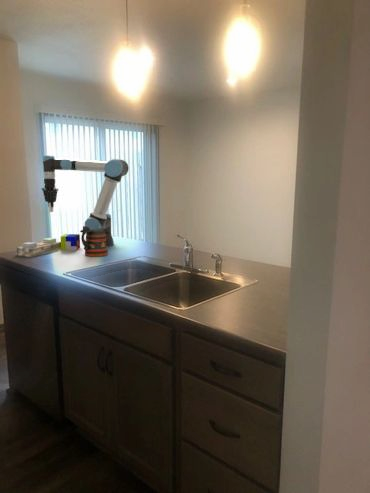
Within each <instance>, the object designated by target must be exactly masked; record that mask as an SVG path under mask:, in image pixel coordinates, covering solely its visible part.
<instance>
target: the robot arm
mask: <svg viewBox="0 0 370 493" xmlns="http://www.w3.org/2000/svg"><path fill="white" fill-rule="evenodd" d="M42 165H43V178H44V179H43V184H44V187H41V190H42V193H43V197H44V201H45V202H47V207H48V212H49V213H53V212H54V206H55V205H54V203H56V201H57V196H58V191H59V188H57V187H56V170H57V171H80V172H83V171H84V172H93V173H104V174H103V176H104V181H103V183H102V186H101V189H100V192H99V195H98V198H97V199H96V204H95V207H94V208H93V209H94V210H93V211H91V212H90V213H89V217H88V218H87V219H86V220H85V221H84V226H86V227H88V228H89V229H92V228H100V229H101V228H103V230H105V234H106V246H107V247H109V246H113V245H114V244H115V241H114V239H113V235H112V215H111V214H110V213H108V210H109V207H110V204H111V201H112V200H113V199H112V198H113V196H114V193H115V190H116V187H117V185H118V184H119V183H120V182H121V180H122V179H123V178H122V177H124V176H126V175H127V174H128V173H129V164H128V163H127V161H125V160H124V159H120V158H119V159H118V158H112V159H111V158H110V159H109V160H107V161H102V160H101V161H100V160H85V159H84V160H83V159H82V160H81V159H71V158H55V156H54V155H44V156H42Z"/></svg>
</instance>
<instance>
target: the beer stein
mask: <svg viewBox="0 0 370 493" xmlns="http://www.w3.org/2000/svg"><path fill="white" fill-rule="evenodd" d="M80 233H81V235H80V241H81V243H82V245H83V249H84V255H85V256H87V257H91V258H94V257H97V258H99V257H105V256H108V250H109V249H108V246H106V234H105V230H103V228H101V229H100V228H92V229H89V228H88V227H86V226H85V225H83V226H82V230H81V229H80Z"/></svg>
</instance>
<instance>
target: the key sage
mask: <svg viewBox="0 0 370 493" xmlns="http://www.w3.org/2000/svg"><path fill="white" fill-rule="evenodd" d="M56 241H57V238H55V237H47V238H43V239H42V242H43V243H48V244H51V243H55V242H56Z"/></svg>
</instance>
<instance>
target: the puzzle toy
mask: <svg viewBox="0 0 370 493" xmlns="http://www.w3.org/2000/svg"><path fill="white" fill-rule="evenodd" d="M60 242H61V250H60V252H62V251H63V252H77V251H78V250H80V249H81V234H78V233H77V234H76V233H65V234H62V235H61V236H60ZM79 248H80V249H79Z"/></svg>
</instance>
